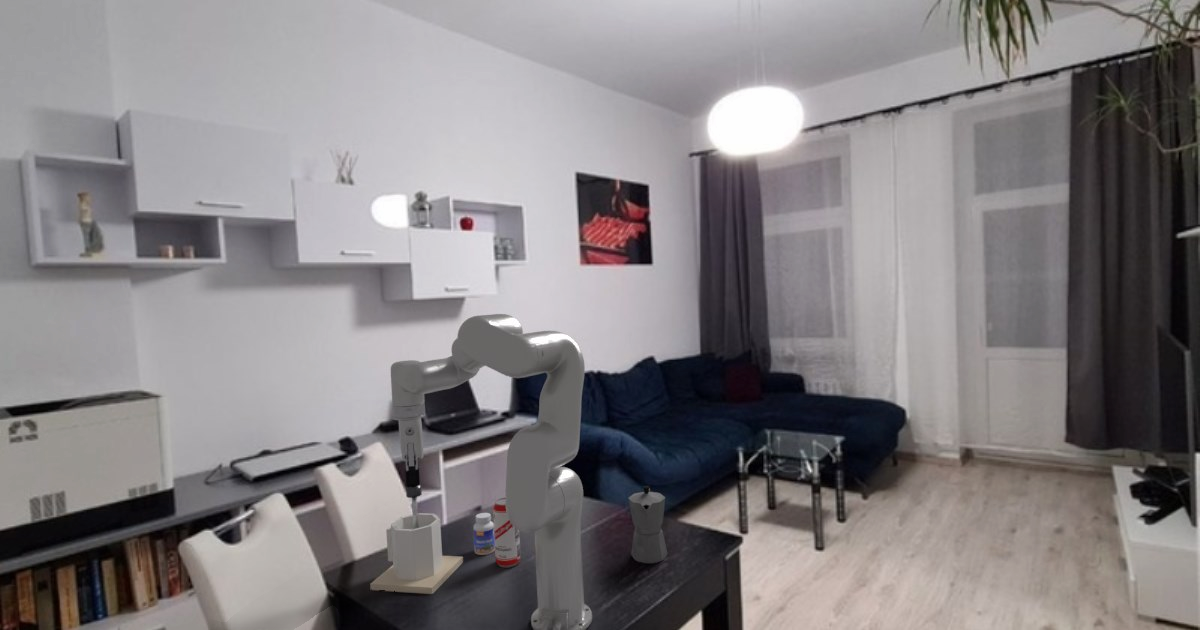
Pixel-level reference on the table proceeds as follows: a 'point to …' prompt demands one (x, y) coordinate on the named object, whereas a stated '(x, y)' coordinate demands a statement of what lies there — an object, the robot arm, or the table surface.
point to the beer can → (505, 537)
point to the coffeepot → (648, 526)
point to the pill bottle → (484, 534)
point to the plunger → (414, 502)
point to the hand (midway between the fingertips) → (413, 485)
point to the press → (416, 557)
